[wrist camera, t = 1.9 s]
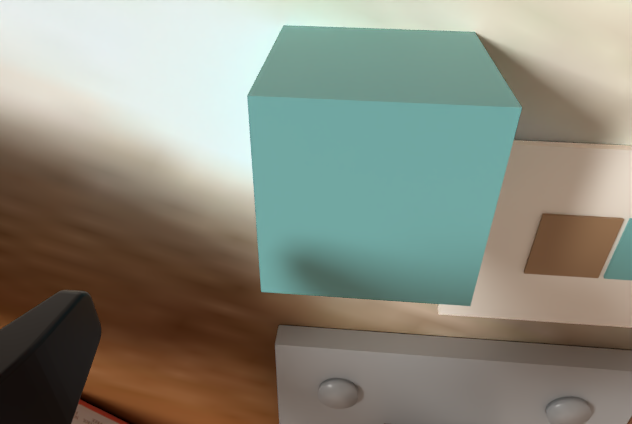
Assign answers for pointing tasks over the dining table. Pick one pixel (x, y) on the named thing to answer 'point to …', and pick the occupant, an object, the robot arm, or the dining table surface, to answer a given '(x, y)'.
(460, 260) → the teal cube
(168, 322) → the dining table surface
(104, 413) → the cracker box
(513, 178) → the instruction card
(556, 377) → the plate
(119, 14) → the dining table surface
